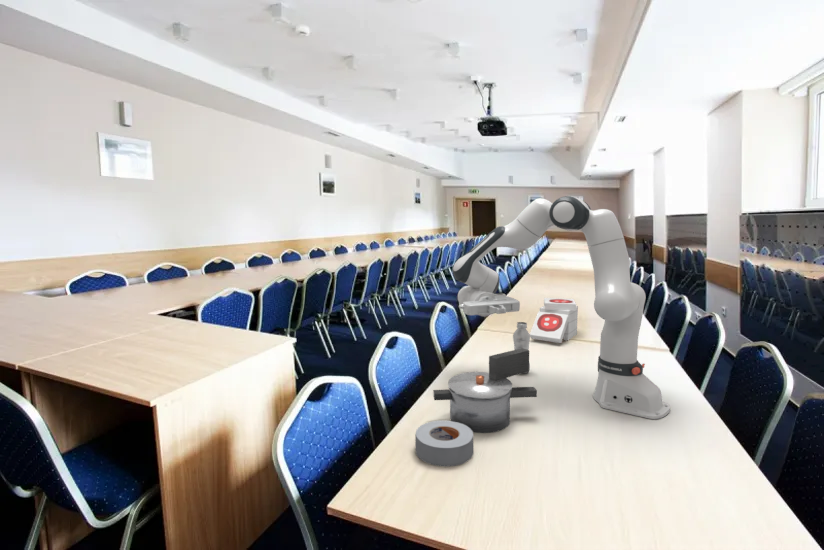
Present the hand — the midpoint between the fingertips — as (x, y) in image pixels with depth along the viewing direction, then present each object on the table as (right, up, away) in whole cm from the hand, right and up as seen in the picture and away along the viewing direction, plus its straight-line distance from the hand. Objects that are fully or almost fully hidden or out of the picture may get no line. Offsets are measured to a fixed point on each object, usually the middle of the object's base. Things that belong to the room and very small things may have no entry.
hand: (502, 311), depth 145 cm
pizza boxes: (+43, -20, +76) cm, 89 cm away
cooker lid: (-5, -21, -11) cm, 24 cm away
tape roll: (-21, -35, -29) cm, 50 cm away
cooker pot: (-8, -32, -12) cm, 35 cm away
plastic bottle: (+13, -27, +27) cm, 40 cm away
